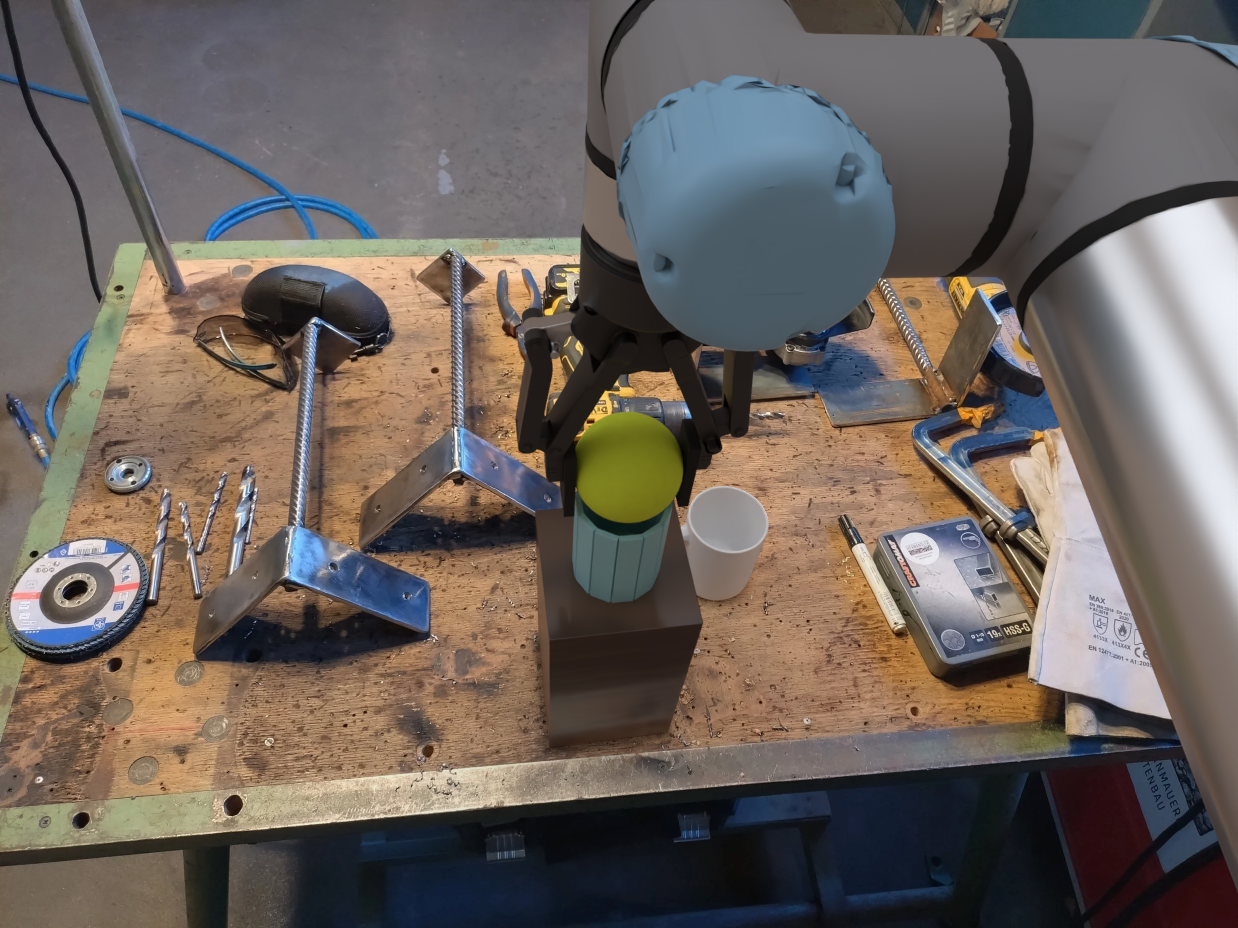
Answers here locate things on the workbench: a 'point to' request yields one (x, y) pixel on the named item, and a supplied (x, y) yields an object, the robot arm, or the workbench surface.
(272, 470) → the workbench surface
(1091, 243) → the robot arm
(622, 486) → the ball
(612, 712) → the dark brown block
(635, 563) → the tumbler
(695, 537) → the mug
